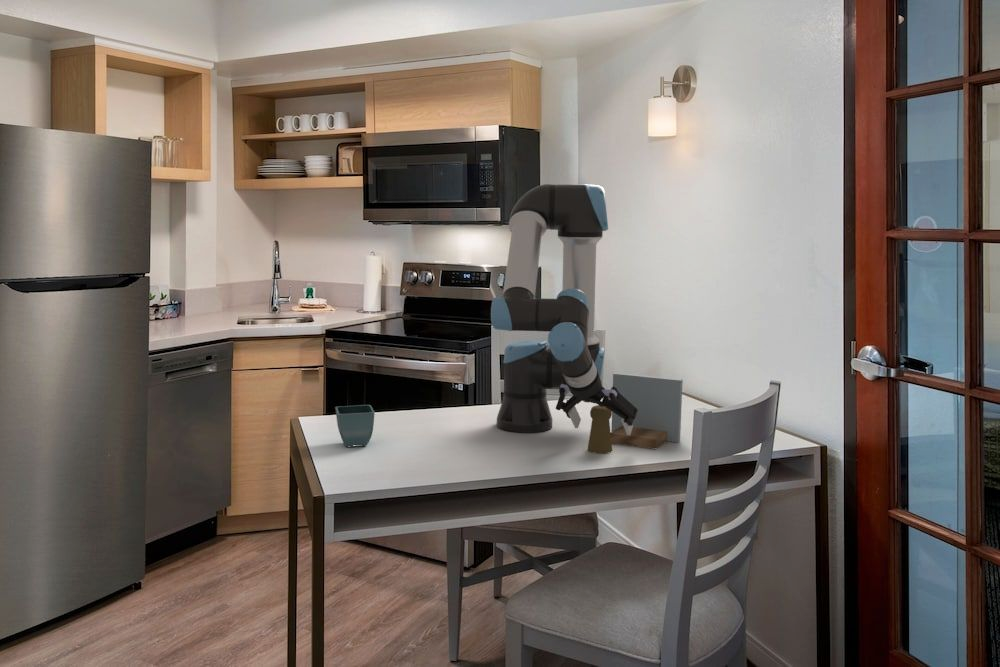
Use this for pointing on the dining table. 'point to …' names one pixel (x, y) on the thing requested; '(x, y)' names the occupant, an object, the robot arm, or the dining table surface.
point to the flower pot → (355, 424)
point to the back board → (651, 402)
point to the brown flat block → (639, 437)
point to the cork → (600, 430)
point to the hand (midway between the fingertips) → (603, 427)
